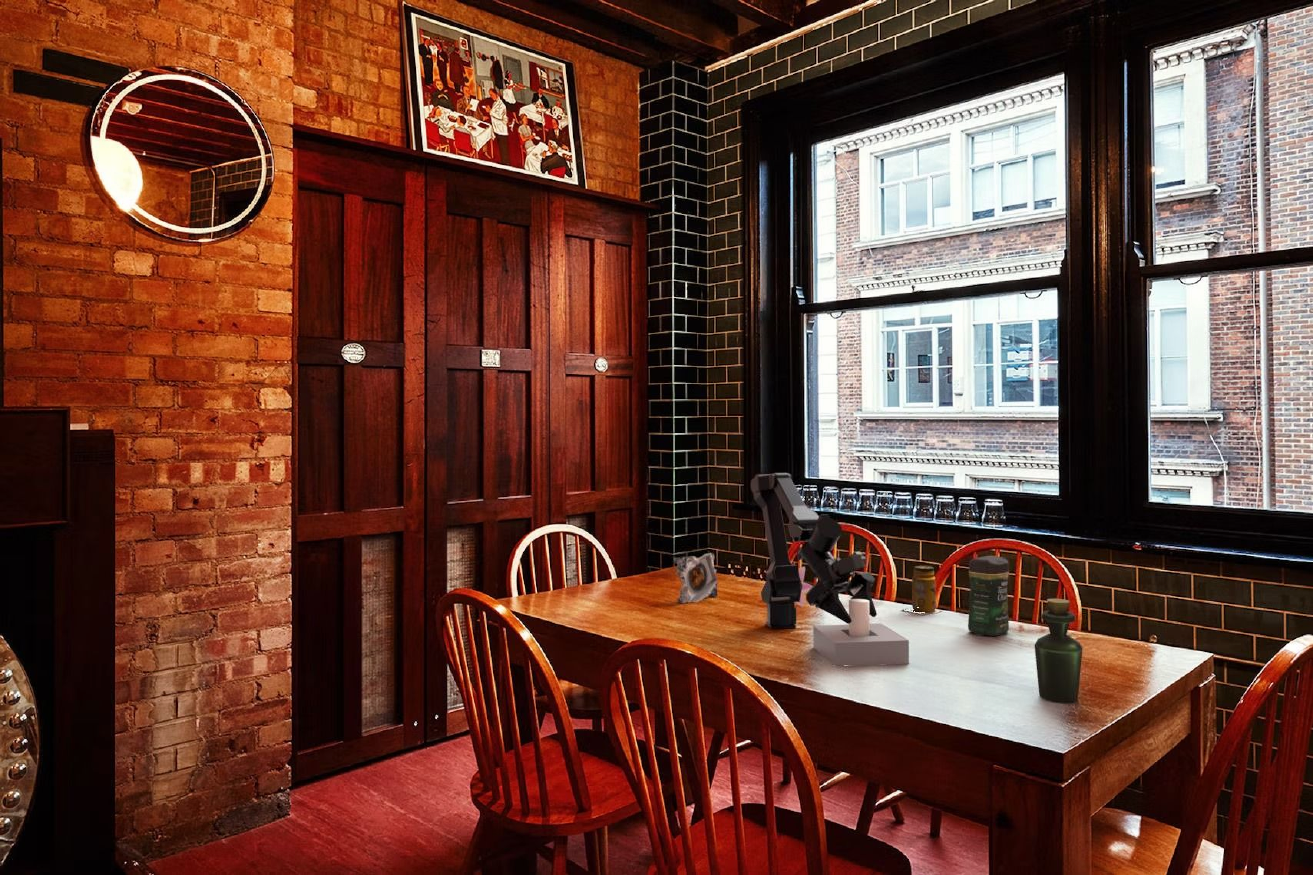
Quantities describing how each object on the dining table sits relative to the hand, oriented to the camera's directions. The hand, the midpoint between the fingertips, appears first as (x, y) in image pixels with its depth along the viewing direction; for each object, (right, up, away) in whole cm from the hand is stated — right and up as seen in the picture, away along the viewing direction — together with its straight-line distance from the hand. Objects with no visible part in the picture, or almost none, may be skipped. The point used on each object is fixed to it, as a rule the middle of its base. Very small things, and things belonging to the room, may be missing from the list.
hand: (863, 619), depth 192 cm
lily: (-7, -8, +59) cm, 59 cm away
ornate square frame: (-34, -8, +64) cm, 72 cm away
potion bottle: (+29, -8, -30) cm, 43 cm away
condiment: (+27, -7, +46) cm, 54 cm away
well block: (-1, -8, +1) cm, 8 cm away
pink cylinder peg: (-1, -8, +1) cm, 8 cm away
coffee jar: (+35, -8, +21) cm, 42 cm away
